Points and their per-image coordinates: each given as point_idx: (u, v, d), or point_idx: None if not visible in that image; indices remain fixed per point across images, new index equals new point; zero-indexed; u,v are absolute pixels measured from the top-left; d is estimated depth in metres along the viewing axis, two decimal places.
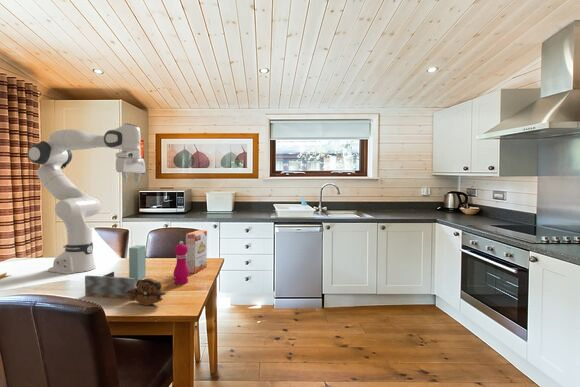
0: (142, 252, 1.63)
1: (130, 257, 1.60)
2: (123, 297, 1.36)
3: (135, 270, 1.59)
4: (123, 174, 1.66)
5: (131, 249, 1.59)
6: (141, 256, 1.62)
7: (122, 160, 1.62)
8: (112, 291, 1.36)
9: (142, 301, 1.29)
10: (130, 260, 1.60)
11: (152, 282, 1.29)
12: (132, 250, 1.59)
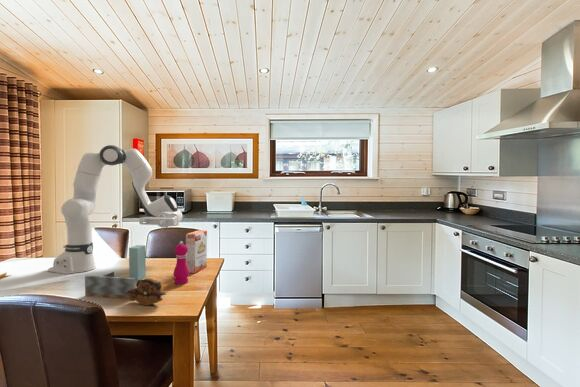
0: (142, 252, 1.63)
1: (130, 257, 1.60)
2: (123, 297, 1.36)
3: (135, 270, 1.59)
4: (165, 221, 1.76)
5: (131, 249, 1.59)
6: (141, 256, 1.62)
7: (177, 222, 1.83)
8: (112, 291, 1.36)
9: (142, 301, 1.29)
10: (130, 260, 1.60)
11: (152, 282, 1.29)
12: (132, 250, 1.59)
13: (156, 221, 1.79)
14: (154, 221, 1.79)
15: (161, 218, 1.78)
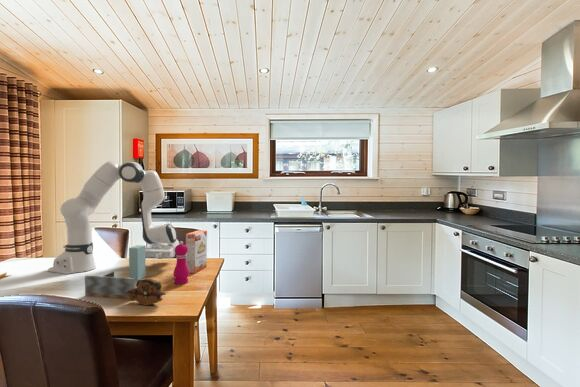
0: (142, 252, 1.63)
1: (130, 257, 1.60)
2: (123, 297, 1.36)
3: (135, 270, 1.59)
4: (161, 254, 1.73)
5: (131, 249, 1.59)
6: (141, 256, 1.62)
7: (173, 254, 1.80)
8: (112, 291, 1.36)
9: (142, 301, 1.29)
10: (130, 260, 1.60)
11: (152, 282, 1.29)
12: (132, 250, 1.59)
13: (152, 253, 1.76)
14: (150, 253, 1.76)
15: (157, 250, 1.75)
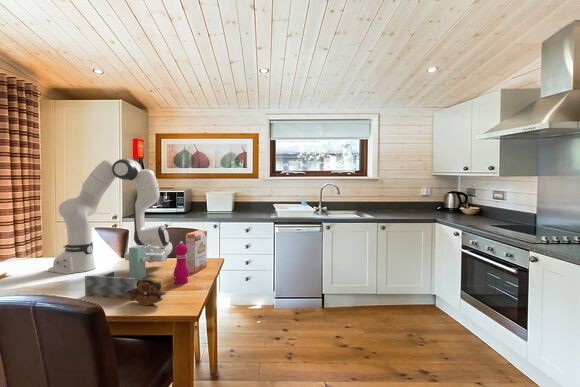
0: (142, 252, 1.63)
1: (130, 257, 1.60)
2: (123, 297, 1.36)
3: (135, 270, 1.59)
4: (149, 258, 1.65)
5: (131, 249, 1.59)
6: (141, 256, 1.62)
7: (165, 258, 1.71)
8: (112, 291, 1.36)
9: (142, 301, 1.29)
10: (130, 260, 1.60)
11: (152, 282, 1.29)
12: (132, 250, 1.59)
13: None
14: None
15: (148, 254, 1.66)
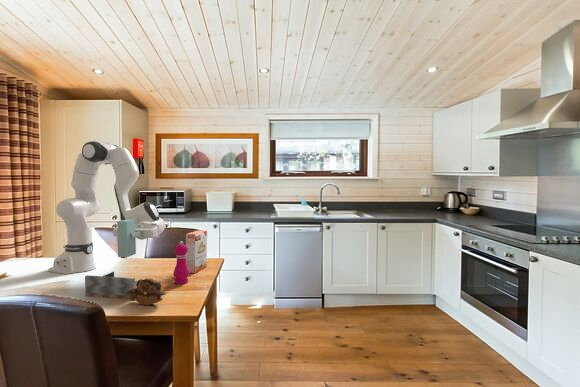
0: (132, 226, 1.50)
1: (118, 231, 1.47)
2: (123, 297, 1.36)
3: (124, 245, 1.47)
4: (139, 233, 1.52)
5: (119, 223, 1.47)
6: (130, 231, 1.49)
7: (157, 234, 1.58)
8: (112, 291, 1.36)
9: (142, 301, 1.29)
10: (118, 235, 1.47)
11: (152, 282, 1.29)
12: (121, 224, 1.46)
13: None
14: None
15: (138, 229, 1.54)
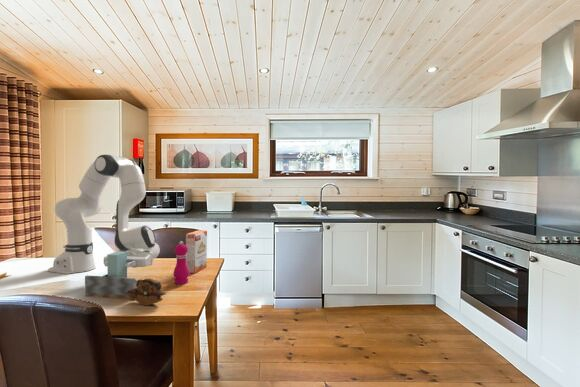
0: (123, 259, 1.42)
1: (109, 265, 1.39)
2: (123, 297, 1.36)
3: None
4: (135, 263, 1.44)
5: (110, 256, 1.38)
6: (121, 264, 1.41)
7: (150, 262, 1.50)
8: (112, 291, 1.36)
9: (142, 301, 1.29)
10: (109, 269, 1.39)
11: (152, 282, 1.29)
12: (111, 257, 1.38)
13: None
14: None
15: (130, 258, 1.45)
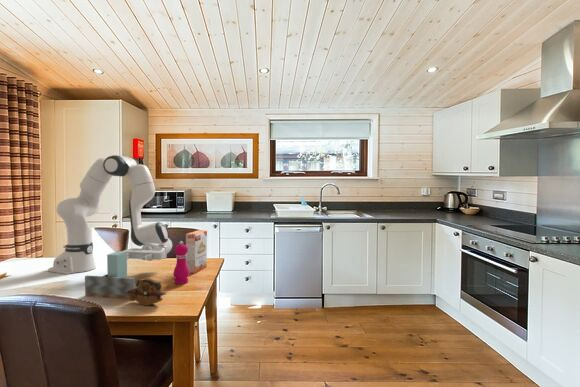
0: (123, 259, 1.42)
1: (108, 265, 1.39)
2: (123, 297, 1.36)
3: None
4: (151, 256, 1.56)
5: (110, 256, 1.38)
6: (121, 264, 1.41)
7: (164, 256, 1.63)
8: (112, 291, 1.36)
9: (142, 301, 1.29)
10: (108, 269, 1.39)
11: (152, 282, 1.29)
12: (111, 257, 1.38)
13: (141, 255, 1.59)
14: (139, 255, 1.59)
15: (147, 252, 1.58)
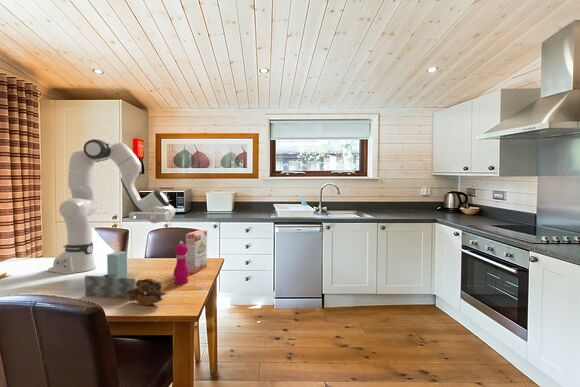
0: (123, 259, 1.42)
1: (108, 265, 1.39)
2: (123, 297, 1.36)
3: None
4: (156, 216, 1.68)
5: (110, 256, 1.38)
6: (121, 264, 1.41)
7: (168, 218, 1.74)
8: (112, 291, 1.36)
9: (142, 301, 1.29)
10: (108, 269, 1.39)
11: (152, 282, 1.29)
12: (111, 257, 1.38)
13: (147, 216, 1.70)
14: (145, 216, 1.70)
15: (152, 213, 1.69)
